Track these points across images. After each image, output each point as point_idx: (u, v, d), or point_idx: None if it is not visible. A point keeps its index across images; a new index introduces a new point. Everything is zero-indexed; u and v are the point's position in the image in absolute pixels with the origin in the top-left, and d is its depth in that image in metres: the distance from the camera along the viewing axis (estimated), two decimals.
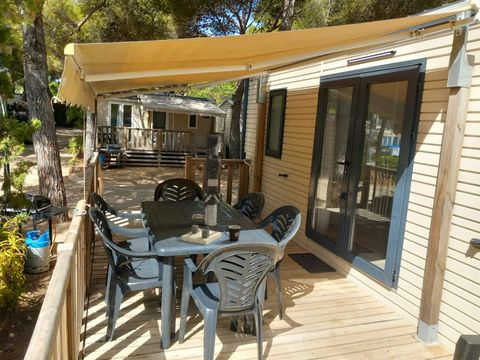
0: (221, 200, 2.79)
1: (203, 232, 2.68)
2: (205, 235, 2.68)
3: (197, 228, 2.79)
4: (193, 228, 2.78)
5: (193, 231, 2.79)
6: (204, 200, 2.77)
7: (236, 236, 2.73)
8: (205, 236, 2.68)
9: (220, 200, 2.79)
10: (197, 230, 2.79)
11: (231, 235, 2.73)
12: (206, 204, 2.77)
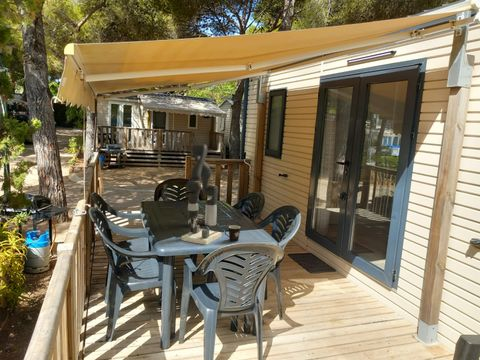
0: (196, 224, 2.78)
1: (203, 232, 2.68)
2: (205, 235, 2.68)
3: (198, 228, 2.80)
4: (194, 228, 2.79)
5: (194, 231, 2.80)
6: (192, 225, 2.74)
7: (236, 236, 2.73)
8: (205, 236, 2.68)
9: (195, 224, 2.78)
10: (198, 230, 2.80)
11: (231, 235, 2.73)
12: (193, 229, 2.76)
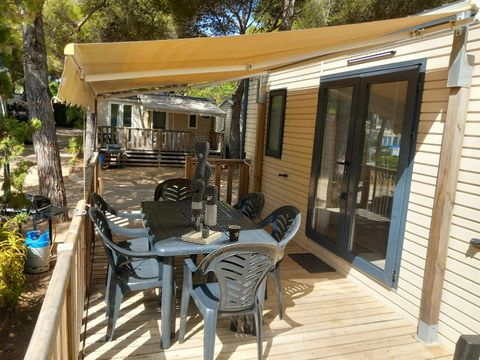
0: (199, 222, 2.83)
1: (203, 232, 2.68)
2: (205, 235, 2.68)
3: (201, 226, 2.85)
4: None
5: None
6: None
7: (236, 236, 2.73)
8: (205, 236, 2.68)
9: (199, 223, 2.82)
10: (201, 228, 2.85)
11: (231, 235, 2.73)
12: (197, 227, 2.81)
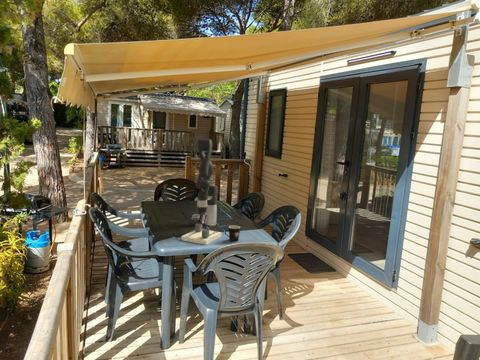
0: (204, 220, 2.90)
1: (203, 232, 2.68)
2: (205, 235, 2.68)
3: (200, 226, 2.84)
4: (196, 226, 2.83)
5: (196, 229, 2.83)
6: None
7: (236, 236, 2.73)
8: (205, 236, 2.68)
9: (204, 220, 2.90)
10: (200, 228, 2.84)
11: (231, 235, 2.73)
12: (202, 225, 2.88)
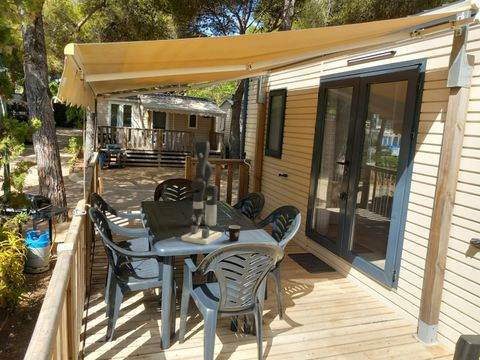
0: (200, 222, 2.84)
1: (203, 232, 2.68)
2: (205, 235, 2.68)
3: (196, 228, 2.78)
4: (192, 228, 2.77)
5: (192, 231, 2.78)
6: (197, 223, 2.80)
7: (236, 236, 2.73)
8: (205, 236, 2.68)
9: (200, 222, 2.84)
10: (196, 230, 2.78)
11: (231, 235, 2.73)
12: (198, 227, 2.82)
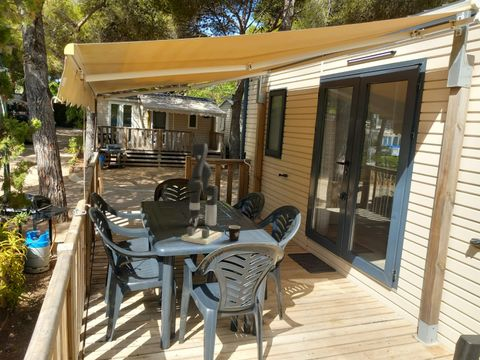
0: (197, 223, 2.80)
1: (203, 232, 2.68)
2: (205, 235, 2.68)
3: (193, 230, 2.74)
4: (189, 230, 2.73)
5: (189, 233, 2.73)
6: None
7: (236, 236, 2.73)
8: (205, 236, 2.68)
9: (197, 223, 2.79)
10: (193, 232, 2.74)
11: (231, 235, 2.73)
12: (195, 228, 2.78)
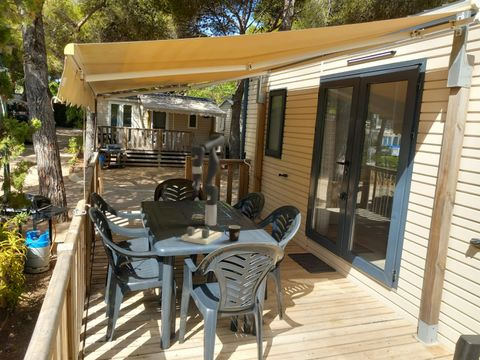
0: (199, 187, 2.93)
1: (203, 232, 2.68)
2: (205, 235, 2.68)
3: (193, 230, 2.74)
4: (189, 230, 2.73)
5: (189, 233, 2.73)
6: (196, 188, 2.88)
7: (236, 236, 2.73)
8: (205, 236, 2.68)
9: (199, 187, 2.92)
10: (193, 232, 2.74)
11: (231, 235, 2.73)
12: (197, 192, 2.90)
